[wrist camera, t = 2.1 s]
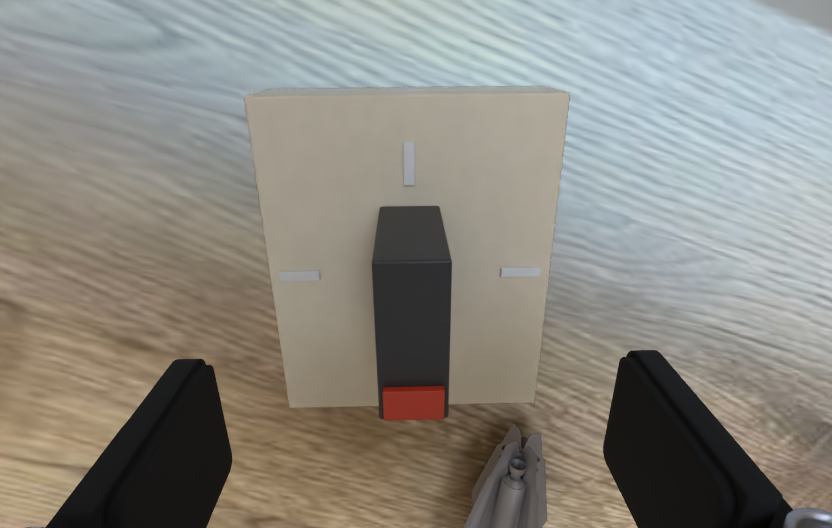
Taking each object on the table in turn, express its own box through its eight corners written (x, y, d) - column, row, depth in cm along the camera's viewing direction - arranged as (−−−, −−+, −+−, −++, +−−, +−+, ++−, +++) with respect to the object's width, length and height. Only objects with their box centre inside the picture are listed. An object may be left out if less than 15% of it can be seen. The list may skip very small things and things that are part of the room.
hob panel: (267, 88, 17) (241, 96, 14) (544, 85, 17) (572, 92, 15) (302, 364, 22) (288, 411, 19) (518, 360, 22) (536, 406, 19)
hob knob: (379, 205, 16) (370, 265, 12) (439, 204, 16) (453, 264, 12) (385, 334, 18) (378, 426, 14) (438, 332, 18) (449, 424, 14)
